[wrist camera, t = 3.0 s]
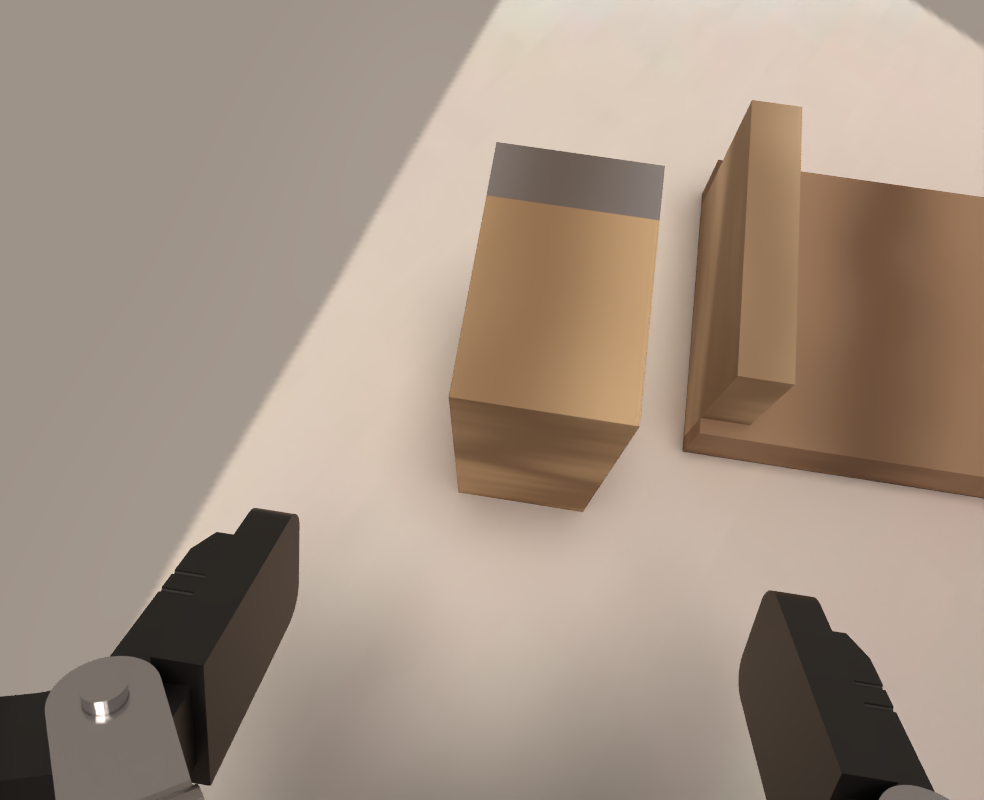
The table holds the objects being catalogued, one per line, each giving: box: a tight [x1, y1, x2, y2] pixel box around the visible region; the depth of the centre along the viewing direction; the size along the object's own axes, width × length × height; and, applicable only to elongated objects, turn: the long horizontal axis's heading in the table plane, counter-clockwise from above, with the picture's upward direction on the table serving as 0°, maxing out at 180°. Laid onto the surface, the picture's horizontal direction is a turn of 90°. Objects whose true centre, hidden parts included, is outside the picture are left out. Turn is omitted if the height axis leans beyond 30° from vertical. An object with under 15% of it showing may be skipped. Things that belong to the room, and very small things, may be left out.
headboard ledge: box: [683, 100, 984, 498], centre depth 24 cm, size 12×10×6 cm
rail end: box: [449, 142, 665, 512], centre depth 21 cm, size 4×6×9 cm, turn 171°
